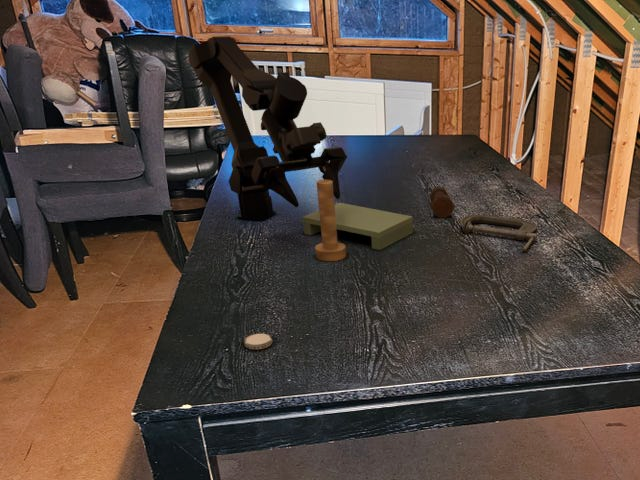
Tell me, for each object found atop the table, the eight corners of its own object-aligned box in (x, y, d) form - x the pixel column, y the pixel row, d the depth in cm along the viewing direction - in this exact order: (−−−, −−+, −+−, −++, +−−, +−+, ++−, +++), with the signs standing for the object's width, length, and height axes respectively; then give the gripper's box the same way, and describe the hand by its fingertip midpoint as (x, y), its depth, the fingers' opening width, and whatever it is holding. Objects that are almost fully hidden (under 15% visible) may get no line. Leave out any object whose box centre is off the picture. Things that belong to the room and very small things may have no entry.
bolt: (440, 206, 170) (446, 222, 156) (423, 197, 168) (427, 212, 155) (452, 187, 168) (458, 201, 154) (434, 177, 166) (439, 191, 153)
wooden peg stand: (311, 259, 130) (303, 184, 122) (323, 249, 135) (316, 176, 127) (339, 262, 129) (333, 186, 121) (350, 252, 134) (345, 178, 127)
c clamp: (553, 230, 150) (554, 218, 149) (526, 252, 136) (526, 240, 135) (473, 216, 157) (474, 205, 156) (440, 237, 144) (440, 225, 142)
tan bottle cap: (239, 343, 98) (238, 339, 98) (261, 334, 101) (261, 330, 101) (255, 351, 96) (254, 348, 96) (277, 342, 99) (277, 338, 99)
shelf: (303, 233, 143) (302, 216, 141) (340, 218, 153) (339, 202, 151) (379, 250, 136) (378, 232, 134) (413, 233, 146) (412, 216, 144)
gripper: (249, 112, 118) (285, 186, 117) (338, 104, 129) (373, 171, 128) (237, 150, 127) (270, 218, 126) (321, 139, 138) (353, 202, 137)
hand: (318, 202), depth 129 cm, fingers open, 9 cm apart
